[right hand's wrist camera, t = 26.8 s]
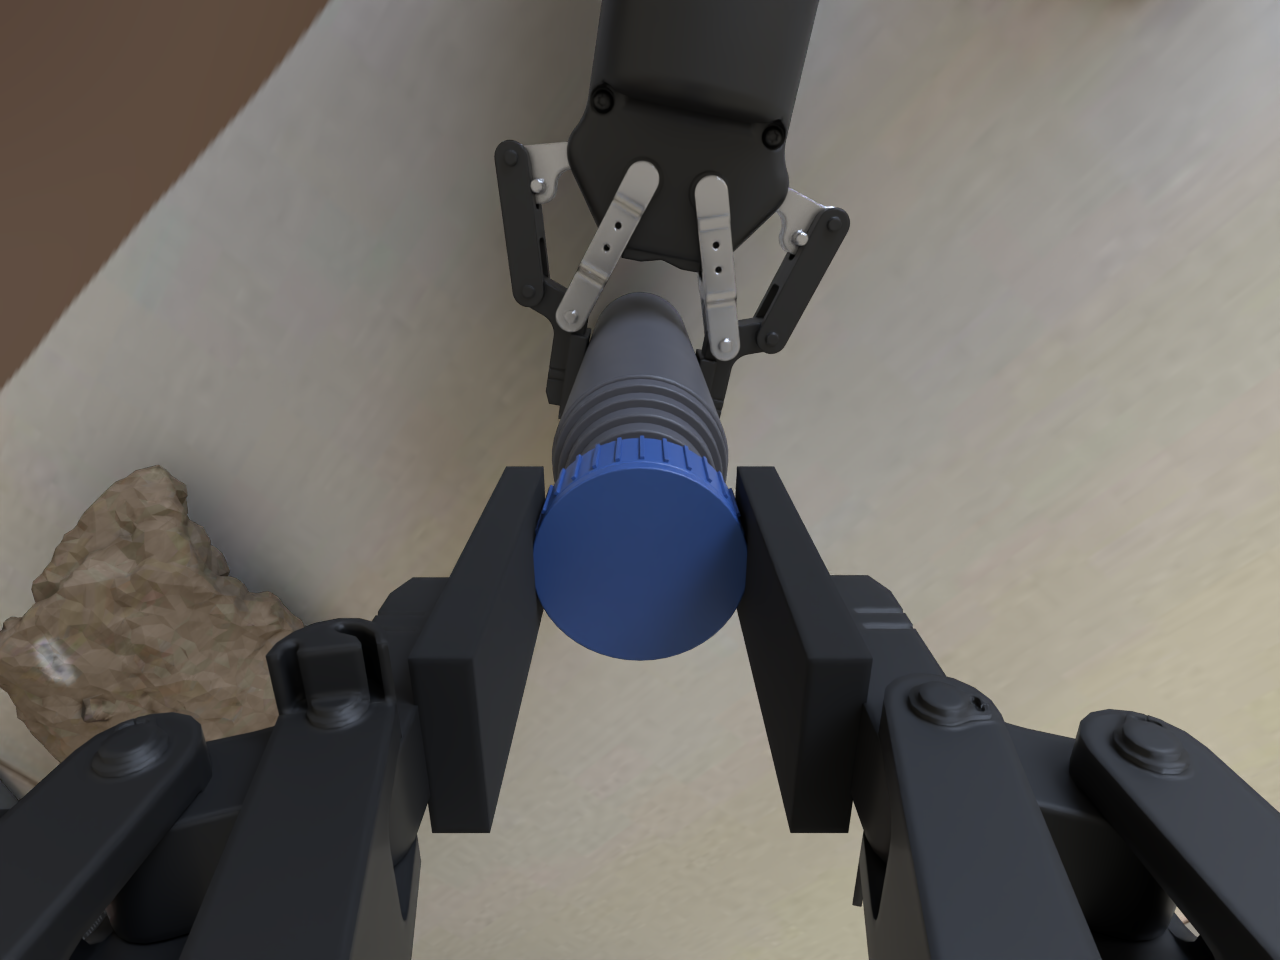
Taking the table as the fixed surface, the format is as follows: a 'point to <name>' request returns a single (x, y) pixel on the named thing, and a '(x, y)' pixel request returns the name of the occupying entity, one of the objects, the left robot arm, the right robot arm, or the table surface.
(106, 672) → the stone
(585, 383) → the bottle
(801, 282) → the left robot arm
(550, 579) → the cap
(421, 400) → the table surface
